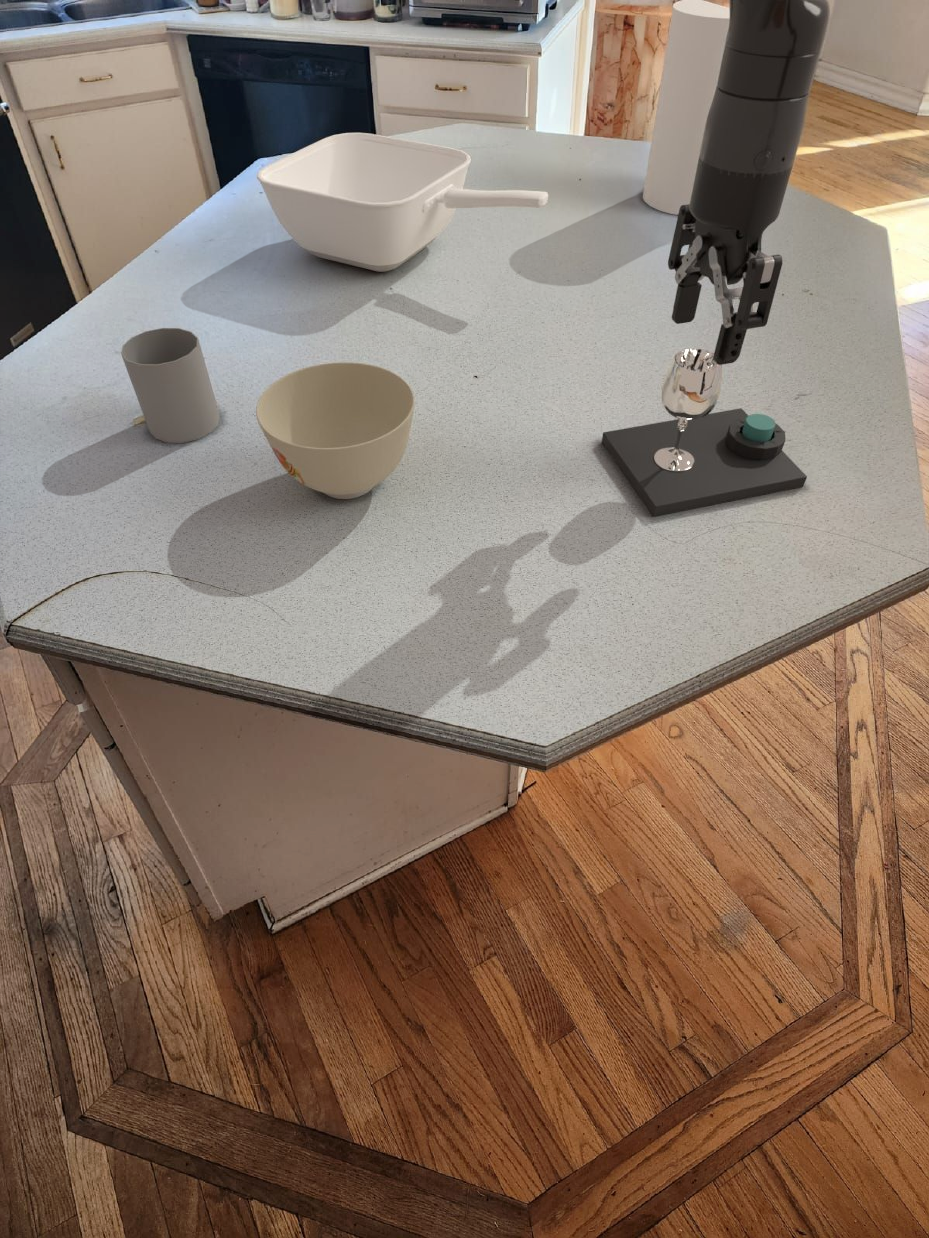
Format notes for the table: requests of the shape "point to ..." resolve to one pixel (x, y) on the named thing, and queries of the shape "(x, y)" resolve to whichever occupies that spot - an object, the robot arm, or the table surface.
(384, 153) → the pan
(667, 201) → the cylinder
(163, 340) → the cup
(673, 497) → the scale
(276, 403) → the bowl
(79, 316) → the table surface
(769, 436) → the power button
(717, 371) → the wineglass
